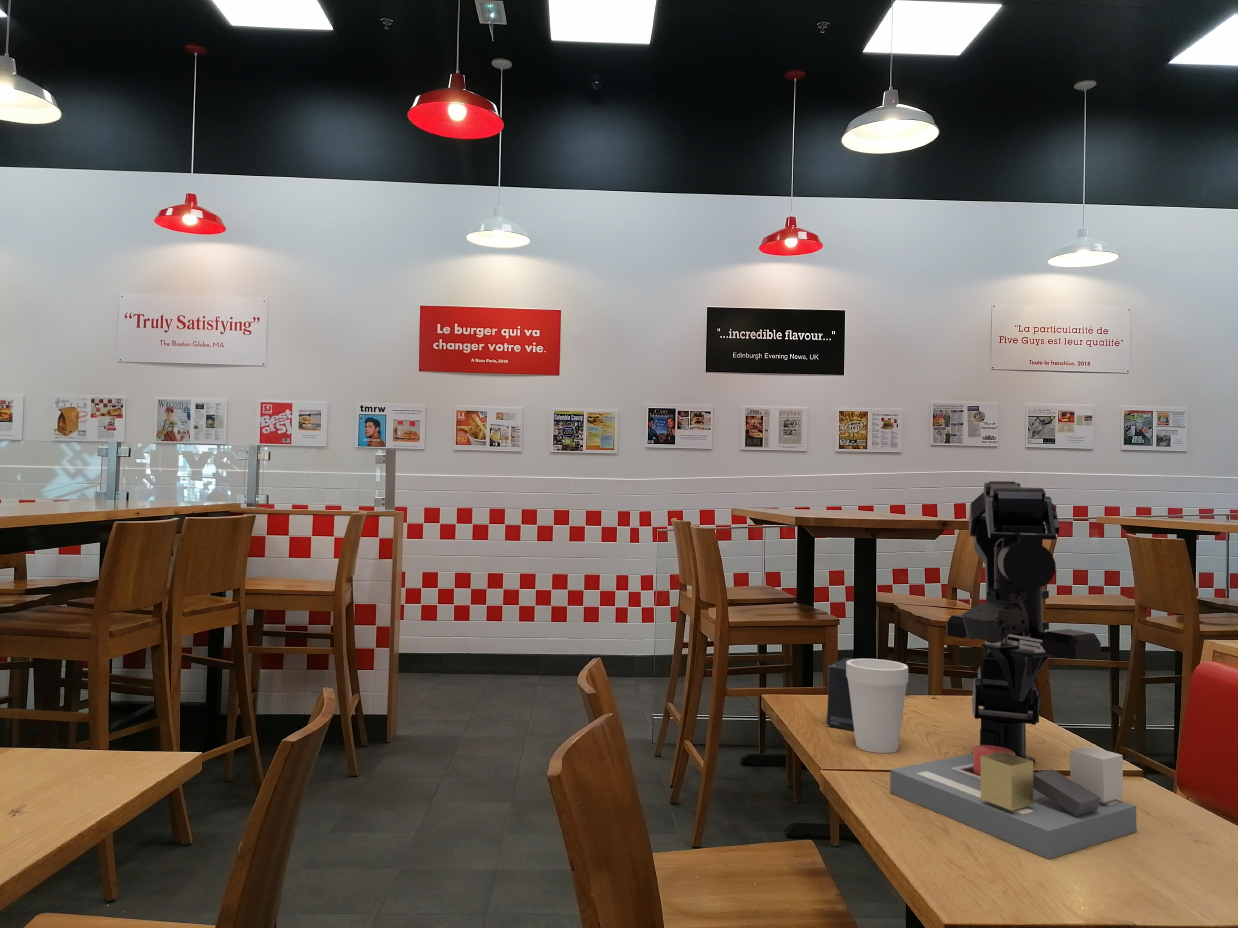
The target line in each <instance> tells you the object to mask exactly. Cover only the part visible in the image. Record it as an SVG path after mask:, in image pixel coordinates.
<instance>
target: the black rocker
mask: <svg viewBox="0 0 1238 928" xmlns="http://www.w3.org/2000/svg"><path fill="white" fill-rule="evenodd" d="M1033 789H1035V790H1037V791H1038V792H1040V793H1041V794H1043V795H1044V796H1046V797H1048V798H1049V799H1051V800H1052V801H1054V802H1056V803H1057V804H1059V805H1060V806H1062V807H1063V808H1065V809H1067V810H1068V811H1070V812H1071V813H1073V814H1074V815H1076V816H1079V815H1082V814H1086V813H1089V812H1093V811H1096V810H1098V806H1099V803H1100V799H1101V798H1100V797H1099V796H1097V795H1095V794H1094V793H1092V792H1090V791H1089V790H1087V789H1085V788H1084V787H1082V786H1080V785H1079V784H1077V783H1075V782H1074V781H1072V780H1070V778H1068V777H1067V776H1065V775H1063V774H1062V773H1060V772H1059V771H1057V770H1055V769H1053V768H1050V769H1046V770H1042V771H1037V772H1034V773H1033Z"/></svg>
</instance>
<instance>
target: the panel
mask: <svg viewBox="0 0 1238 928" xmlns="http://www.w3.org/2000/svg"><path fill="white" fill-rule="evenodd" d="M1033 773H1035V772H1034V771H1033ZM889 776H890V777H889V784H890V785H889V790H890V791H889V792H890V794H893V795H895V796H898V797H900V798H902V799H905V800H907V801H909V802H912V803H914V804H917V805H919V806H921V807H924V808H927V809H929V810H930V811H934V812H936V813H938V814H940V815H943V816H945V817H948V818H950V819H952V820H955V821H956V822H960V823H961V824H964V825H967V826H969V827H971V828H973V829H976V830H979V831H981V832H983V833H986V834H988V835H990V836H992V837H995V838H998V839H1000V840H1002V841H1005V842H1007V843H1009V844H1012V845H1014V846H1016V847H1018V848H1021V849H1023V850H1025V851H1028V852H1030V853H1033V854H1036V855H1037V856H1039V857H1042V858H1045V859H1047V860H1051V859H1054V858H1057V857H1060V856H1064V855H1066V854H1070V853H1073V852H1077V851H1079V850H1083V849H1086V848H1089V847H1092V846H1095V845H1098V844H1102V843H1104V842H1108V841H1111V840H1114V839H1117V838H1121V837H1124V836H1127V835H1130V834H1134V833H1136V832H1137V831H1138V830H1137V826H1138V825H1137V805H1134V804H1132V803H1129V802H1126V801H1124V800H1120V799H1115V800H1111V801H1108V802H1101V801H1100V803H1099V806H1098V810H1096V811H1093V812H1089V813H1086V814H1082V815H1079V816H1076V815H1074V814H1073V813H1071V812H1070V811H1068V810H1067V809H1065V808H1063V807H1062V806H1060V805H1059V804H1057V803H1056V802H1054V801H1052V800H1051V799H1049V798H1048V797H1046V796H1044V795H1043V794H1041V793H1040V792H1038V791H1037V790H1035V789H1033V805H1031V806H1027V807H1023V808H1019V809H1015V810H1009V809H1007V808H1004V807H1001V806H999V805H996V804H993V803H991V802H988V801H986V800H983V799H981V777H980V776H977V775H975V774H973V753H968V754H967V753H966V754H963V755H958V756H951V757H948V758H942V759H937V760H932V761H927V762H923V763H922V762H921V763H917V764H912V765H908V766H902V767H896V768H891V769H890V771H889ZM1133 832H1134V833H1133Z"/></svg>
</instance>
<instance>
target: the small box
mask: <svg viewBox="0 0 1238 928" xmlns="http://www.w3.org/2000/svg"><path fill="white" fill-rule="evenodd" d="M851 659H852V658H851V657H850V658H849V657H844V658H842V659H840V660H837V661H836V662H834V663H832V664H829V665H828V669H827V670H828V671H827V677H828V678H827V714H826V726H827V725H829V726H828V727H831V726H835V727H834V728H837V727H839V729H842V728H845V729H844V730H848V729H850V730H849V731H853V730H854V725H853V717H852V709H851V701H850V693H849V685H848V679H847V677H846V661H848V660H851Z"/></svg>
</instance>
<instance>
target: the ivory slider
mask: <svg viewBox="0 0 1238 928" xmlns="http://www.w3.org/2000/svg"><path fill="white" fill-rule="evenodd" d="M1069 754H1070V755H1069V756H1070V757H1069V761H1070V762H1069V763H1070V766H1069V768H1070V772H1069V773H1070V778H1069V779H1070V780H1072V781H1074V782H1075V783H1077V784H1079V785H1080V786H1082V787H1084V788H1085V789H1087V790H1089V791H1090V792H1092V793H1094V794H1095V795H1097V796H1099V797H1100V798H1101V799H1100V801H1101V802H1108V801H1111V800H1115V799H1117V800H1120V799H1122V798H1124V775H1123V774H1124V771H1123V768H1124V765H1123V764H1124V763H1123V762H1124V760H1123V757H1124V756H1123V754H1120V753H1117V752H1112V751H1110V750H1109V751H1108V750H1105V749H1101V748H1098V747H1095V746H1091V745H1088V746H1087V745H1086V746H1083V747H1078V748H1073V749H1070V750H1069Z"/></svg>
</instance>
